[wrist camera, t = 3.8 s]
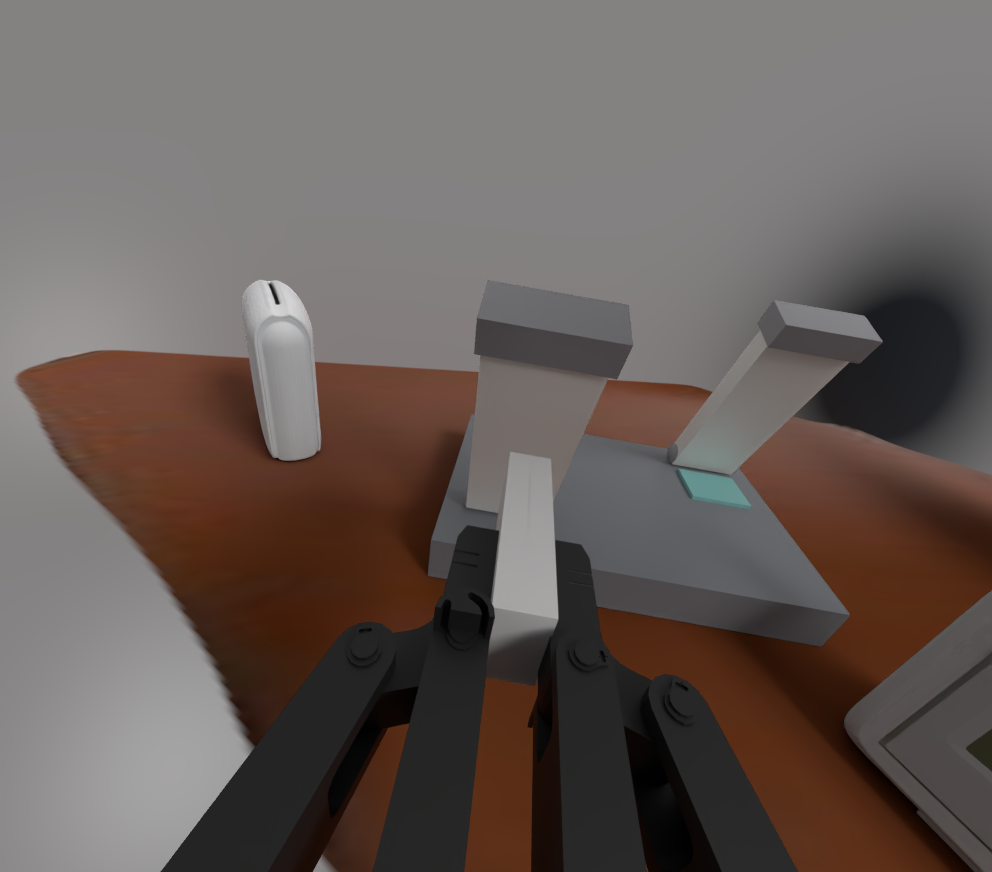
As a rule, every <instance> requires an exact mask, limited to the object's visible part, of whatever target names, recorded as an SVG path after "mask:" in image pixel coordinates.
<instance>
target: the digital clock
mask: <svg viewBox="0 0 992 872" xmlns="http://www.w3.org/2000/svg"><path fill="white" fill-rule="evenodd" d="M844 727H845V729H846V731H847V733H848V735H849V736H850V738H851V739H852V741H853V742H854V743H855V745H856V746H857V747H858V748H859V749H860V750H861V751H862V752H863V753H864V755H865V756H866V757H867V758H868V759H869V760H870V761H871V762H872V763H873V764H874V765H875V766H876V767H877V768H878V769H879V770H880V771H881V772H882V773H883V774H884V775H885V776H886V777H887V778H888V779H889V780H890V781H891V782H892V783H893V784H894V785H895V786H896V787H897V788H898V789H899V790H900V791H901V792H902V793H903V794H904V795H905V796H906V797H907V798H908V799H909V800H910V801H911V802H912V803H913V804H914V805H915V806H916V807H917V808H918V811H917V812H916V813H917V814H918V815H919V816H920V817H921V818H922V819H923V820H924V821H925V822H926V823H927V824H928V825H929V826H930V827H931V828H932V829H933V830H934V831H935V832H936V833H937V834H938V835H939V836H940V837H941V838H942V839H943V840H944V841H945V842H946V843H947V844H948V845H949V846H950V847H951V848H952V849H953V850H954V851H955V852H956V853H957V855H958V856H959V857H960V858H961V859H962V860H963V861H964V862H965V863H966V864H967V865H968V866H969V867H970V868H971V869H972V870H973V871H974V872H992V591H990V592H989V593H988V594H986V595H985V596H984V597H983V598H981V599H980V600H979V601H978V602H977V603H975V604H974V605H973V606H972V607H971V608H969V609H968V610H967V611H966V612H965V613H963V614H962V615H961V616H960V617H959V618H958V619H956V620H955V621H954V622H953V623H952V624H950V625H949V626H948V627H947V628H946V629H944V630H943V631H942V632H941V633H940V634H939V635H937V636H936V637H935V638H934V639H933V640H931V641H930V642H929V643H928V644H927V645H925V646H924V647H923V648H922V649H921V650H920V651H918V652H917V653H916V654H915V655H914V656H912V657H911V658H910V659H909V660H908V661H906V662H905V663H904V664H903V665H902V666H901V667H899V668H898V669H897V670H896V671H895V672H893V673H892V674H891V675H890V676H889V677H887V678H886V679H885V680H884V681H883V682H882V683H880V684H879V685H878V686H877V687H876V688H874V689H873V690H872V691H871V692H870V693H868V694H867V695H866V696H865V697H864V698H863V699H861V700H860V701H859V702H858V703H857V704H856V705H855V706H854V707H853V708H851V709H850V711H849V712H848V713H847V715H846V717H845V719H844Z"/></svg>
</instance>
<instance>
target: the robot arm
mask: <svg viewBox="0 0 992 872" xmlns="http://www.w3.org/2000/svg"><path fill="white" fill-rule="evenodd" d="M593 586H594V584H593V577H592V570H591V563H590V558H589V556H588V555H587V553H586V551H585V550H584V548H583V546H582V545H581V544H576V543H570V542H565V541H559V540H555V534H554V512H553V491H552V469H551V459H548V458H543V457H537V456H532V455H526V454H520V453H515V452H510V455H509V460H508V465H507V470H506V475H505V480H504V485H503V490H502V495H501V500H500V505H499V511H498V518H497V526H496V530H492V529H487V528H481V527H475V526H470V525H467V526H466V527H465V528H464V529H463V531H462V532H461V533H460V534H459V535H458V537H457V541H456V545H455V549H454V553H453V557H452V562H451V565H450V569H449V574H448V578H447V582H446V586H445V590H444V594H443V595H442V596H441V597H440V599H439V601H438V602H437V604H436V606H435V614H434V618H433V619H432V620H431V621H430V622H429V623H428V624H426V625H424V626H422V627H420V628H418V629H414V630H410V631H403V632H396V633H392V632H391V630H389V629H388V628H386V627H385V626H384V625H382V624H379V623H374V622H366V623H359V624H357V625H355V626H352V627H350V628H348V629H347V630H346V631H345V632H344V633H343V634H342V635H341V636H339V637H338V639H337V640H336V641H335V643H334V644H333V645H332V647H331V648H330V649H329V650H328V652H327V653H326V654H325V656H324V657H323V658H322V660H321V661H320V662H319V664H318V665H317V666H316V668H315V669H314V670H313V672H312V673H311V674H310V676H309V677H308V678H307V679H306V681H305V682H304V683H303V685H302V686H301V687H300V689H299V690H298V691H297V693H296V694H295V695H294V697H293V698H292V699H291V701H290V702H289V703H288V705H287V706H286V707H285V709H284V710H283V711H282V712H281V714H280V715H279V716H278V718H277V719H276V720H275V722H274V723H273V724H272V726H271V727H270V728H269V730H268V731H267V732H266V734H265V735H264V736H263V738H262V739H261V740H260V741H259V743H258V744H257V745H256V747H255V748H254V749H253V751H252V752H251V753H250V755H249V756H248V757H247V759H246V760H245V761H244V763H243V764H242V765H241V767H240V768H239V769H238V771H237V772H236V773H235V775H234V776H233V777H232V778H231V780H230V781H229V783H228V784H227V785H226V786H225V788H224V789H223V790H222V792H221V793H220V794H219V796H218V797H217V798H216V800H215V801H214V802H213V804H212V805H211V806H210V807H209V809H208V810H207V811H206V813H205V814H204V815H203V817H202V818H201V819H200V821H199V822H198V823H197V825H196V826H195V827H194V829H193V830H192V831H191V833H190V834H189V835H188V837H187V838H186V839H185V840H184V842H183V843H182V844H181V846H180V847H179V848H178V850H177V851H176V852H175V854H174V855H173V856H172V858H171V859H170V860H169V862H168V863H167V864H166V866H165V867H164V868H163V870H162V871H161V872H313V870H314V868H315V866H316V865H317V863H318V861H319V859H320V857H321V855H322V853H323V851H324V849H325V847H326V845H327V844H328V842H329V840H330V838H331V836H332V834H333V832H334V830H335V828H336V826H337V824H338V822H339V821H340V819H341V817H342V815H343V813H344V811H345V809H346V807H347V805H348V803H349V801H350V800H351V798H352V796H353V794H354V792H355V790H356V788H357V786H358V784H359V782H360V780H361V779H362V777H363V775H364V773H365V771H366V769H367V767H368V765H369V763H370V761H371V759H372V757H373V756H374V754H375V752H376V750H377V748H378V746H379V744H380V742H381V740H382V738H383V736H384V735H385V733H386V731H387V729H388V727H393V726H398V725H403V724H408V723H409V728H408V732H407V736H406V740H405V744H404V748H403V752H402V756H401V760H400V764H399V768H398V772H397V776H396V780H395V784H394V788H393V792H392V796H391V800H390V804H389V808H388V812H387V816H386V820H385V824H384V828H383V832H382V837H381V841H380V845H379V849H378V853H377V857H376V861H375V865H374V869H373V872H464V867H465V858H466V849H467V840H468V831H469V822H470V813H471V804H472V795H473V786H474V777H475V768H476V759H477V750H478V741H479V732H480V723H481V714H482V705H483V696H484V687H485V678H486V677H487V678H492V679H498V680H503V681H509V682H514V683H520V684H525V685H531V686H535V683H536V680H537V677H538V696H537V699H536V701H535V704H534V707H533V709H532V712H531V715H530V717H529V722H528V727H530V728H532V726H533V781H532V853H531V872H647V870H646V865H647V868H648V871H649V872H798V871H797V869H796V867H795V865H794V863H793V861H792V860H791V858H790V856H789V854H788V852H787V850H786V848H785V847H784V845H783V843H782V841H781V839H780V837H779V836H778V834H777V832H776V830H775V828H774V826H773V824H772V823H771V821H770V819H769V817H768V815H767V813H766V811H765V810H764V808H763V806H762V804H761V802H760V800H759V798H758V797H757V795H756V793H755V791H754V789H753V787H752V786H751V784H750V782H749V780H748V778H747V776H746V774H745V773H744V771H743V769H742V767H741V765H740V763H739V761H738V760H737V758H736V756H735V754H734V752H733V750H732V748H731V747H730V745H729V743H728V741H727V739H726V737H725V736H724V734H723V732H722V730H721V728H720V726H719V724H718V723H717V721H716V719H715V717H714V715H713V713H712V711H711V710H710V708H709V706H708V704H707V702H706V701H705V700H704V698H703V697H702V695H701V694H700V693H699V691H698V690H696V689H695V688H694V687H693V686H692V685H691V684H690V683H688V682H687V681H685V680H683V679H681V678H679V677H677V676H674V675H667V674H664V675H661V676H658V677H655V678H654V680H653V681H651V680H649V679H647V678H645V677H643V676H642V675H640V674H638V673H636V672H634V671H632V670H630V669H628V668H626V667H625V666H623V665H622V664H620V663H619V662H618V661H617V660H616V659H615V658H614V657H613V656H612V655H611V654H610V651H609V650H608V649H607V647H606V646H605V645H604V643H603V640H602V637H601V632H600V625H599V619H598V612H597V605H596V598H595V591H594V588H593ZM645 861H646V864H645Z"/></svg>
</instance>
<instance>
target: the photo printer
mask: <svg viewBox="0 0 992 872" xmlns="http://www.w3.org/2000/svg"><path fill="white" fill-rule="evenodd" d="M242 315H243V320H244V327H245V334H246V340H247V347H248V354H249V360H250V367H251V374H252V380H253V386H254V392H255V398H256V403H257V408H258V413H259V418H260V423H261V427H262V431H263V435H264V438H265V442H266V445H267V448H268V450H269V452H270V454H271V455H272V457H273V458H279V459H280V460H284V461H295V460H301V459H305V458H308V457H311V456H313V455H314V454H315V453H316V452H317V451H320V448H321V430H320V419H319V407H318V395H317V383H316V371H315V358H314V342H313V331H312V326H311V323H310V320H309V317H308V314H307V312H306V309H305V307H304V305H303V304H302V302H301V300H300V299H299V297H298V296H297V295H296V294H295V292H294V291H293V290H292V289H291V288H290V287H288V286H287V285H285V284H283V283H282V282H280V281H277V280H273V281H264V280H258V281H256V282H254V283H252V284H251V285H250V286H249V287H248V288H247V289H246V291H245V293H244V294H243V297H242Z"/></svg>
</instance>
